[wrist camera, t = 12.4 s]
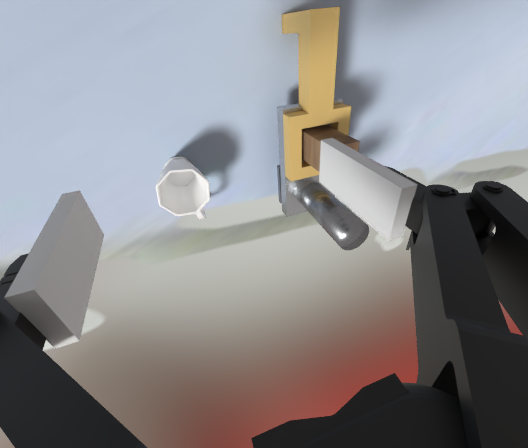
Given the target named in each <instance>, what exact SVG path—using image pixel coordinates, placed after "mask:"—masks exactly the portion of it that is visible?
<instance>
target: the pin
mask: <svg viewBox="0 0 528 448" xmlns="http://www.w3.org/2000/svg"><path fill="white" fill-rule="evenodd" d="M329 138H334V139H335V140H337V141H339V142H341V143H343V144H345V145H346V146H348V147H350V148H352V149H354V150H356V151H357V152H358V150H359V142H360V141H358V140H356V139H354V138H352V137H350V136H348V135H346V134H344V133H342V132H340V131H338V130H336V129H334V128H331V127H329V126H327V125H320V126H315V127H310V128H304V129H302V159H303V160H304V161H306V162H307V163H308V164H309V165H311V166H312V167H313V168H315V169H316V170H317V171H318V172H319V171H320V149H321V140H324V139H329Z"/></svg>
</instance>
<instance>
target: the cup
mask: <svg viewBox="0 0 528 448" xmlns="http://www.w3.org/2000/svg"><path fill="white" fill-rule="evenodd" d="M156 191H157V196H158V201H159V206H161V207H162V208H164V209H166V210H167V211H169V212H171V213H172V214H174V215H176V216H182V215H189V214H196V215H197V217H198V218H199V219H200V220H202V219H204V218H206V216H205V212H204V210H203V207H204V206H205V204H206V203H207V202H208V201H209V200H210V191H209V181H208V180H207V179H206V178H205V176H204V175H203V174H202V173H201V172H200V171H199V170H198V169H197V168H196V167H194V166H193V165H192V163H191V162H189V161H188V160H187V159H186V158H184V157H171V158H170V159H169V161H168V162H167V163H166V164H165V165H164V169H163V170H162V172H161V173H160V176H159V179H158V181H157V184H156Z"/></svg>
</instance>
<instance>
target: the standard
mask: <svg viewBox="0 0 528 448" xmlns="http://www.w3.org/2000/svg"><path fill="white" fill-rule="evenodd" d="M341 103H343V99H341V98H338V97H334V103H333V105H336V104H341ZM297 111H302V106H300V105H299V103H297V104H291V105H285V106H279V107H277V112H278V133H279V154H280V166H277V171H278V190H279V201H280V203H282V211H283V213H284V214H285V215H286V216H287V217H288V216H292V215H295V214H299V213H303V212H306V211H308V212H309V213H310V214H311V215H312V216H313V217H314V218H315V220H316V221H317V222H318V223H319V224H320V225H321V226H322V227H323V228H324V229H325V230H326V232H327V233H328V234H329V235H330V236H331V237H332V238H333V239H334V240H335V241H336V243H337V244H338V245H339V246H340V247H341V248H342V249H344V250H352V249H355V248H357V247H358V246H360V245H361V244H362V243H363V242H364V241H365V240H366V238H367V236H368V233H369V227H368V225H367V224H366V223H364V222H363V221H362V220H361V219H360V218H359V217H357V216H356V215H355V214H354V213H353V212H352V211H350V210H349V209H348V208H347V207H346V206H345V205H344V204H342V203H341V202H340V201H339V200H338V199H337V198H335V195H334V194H333V193H332V192H331V191H329V190H328V189H327V188H326V187H325V186H323V185H322V184H321V183H320V182H319V175H316V176H312V177H308V178H304V179H299V180H295V181H290V180H289V179H288V178H287V177H286V176H285V154H284V127H283V114H285V113H291V112H297ZM325 125H327V126H329V127H330V126H331V123H330V124H325ZM302 161H304V160H303V159H302Z"/></svg>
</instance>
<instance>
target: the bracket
mask: <svg viewBox="0 0 528 448" xmlns="http://www.w3.org/2000/svg"><path fill="white" fill-rule="evenodd" d="M339 15H340V7H331V8H320V9H310V10H304V11H298V12H293V13H287V14H282V34H283V33H299V105H300V106H302V111H297V112H291V113H285V114H283V127H284V154H285V176H286V177H287V178H288V179H289V180H290V181H295V180H299V179H304V178H308V177H312V176H316V175H319V172H318V171H317V170H316V169H315V168H313V167H312V166H311V165H309V164H308V163H307V162H306V161H302V129H304V128H310V127H315V126H320V125H325V124H330V123H331V126H330V127H331V128H334V129H336V130H338V131H340V132H342V133H344V134H346V135H348V133H349V124H350V114H351V106H350V105H347V104H344V103H341V104H336V105H333V103H334V89H335V74H336V59H337V44H338V29H339Z"/></svg>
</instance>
